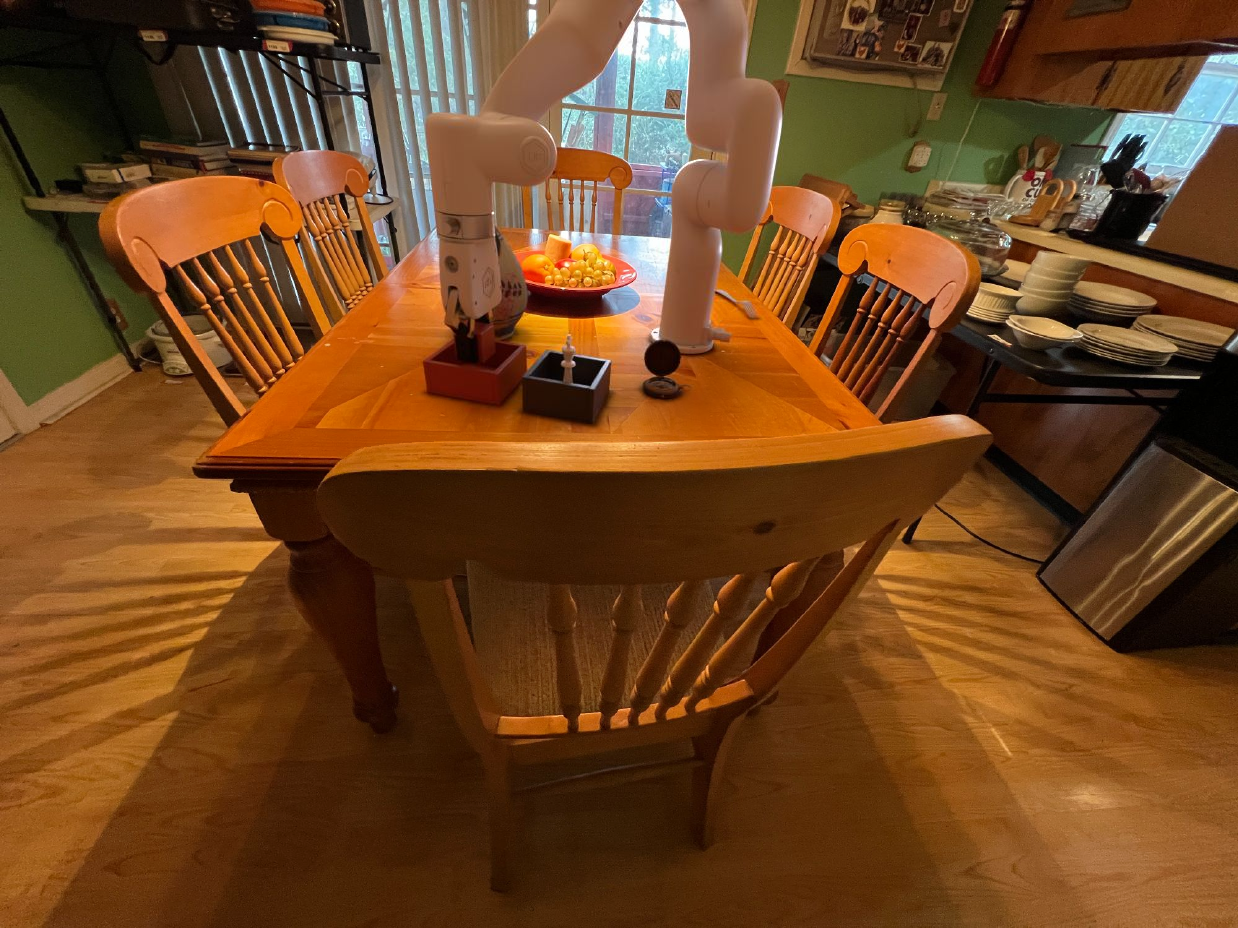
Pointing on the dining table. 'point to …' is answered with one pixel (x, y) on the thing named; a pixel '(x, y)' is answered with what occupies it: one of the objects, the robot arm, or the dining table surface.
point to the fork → (739, 302)
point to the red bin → (476, 373)
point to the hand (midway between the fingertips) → (476, 353)
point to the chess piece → (568, 360)
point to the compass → (662, 369)
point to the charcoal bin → (566, 387)
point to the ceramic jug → (508, 291)
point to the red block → (483, 340)
